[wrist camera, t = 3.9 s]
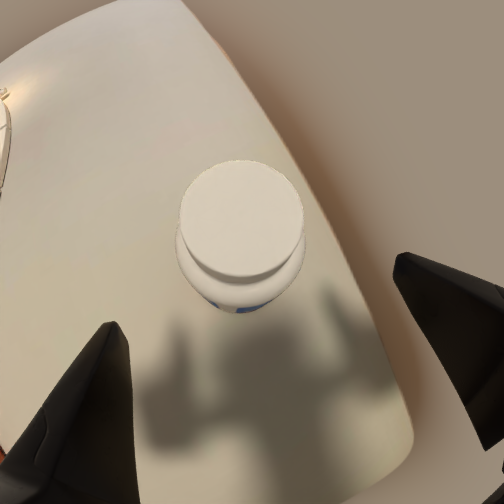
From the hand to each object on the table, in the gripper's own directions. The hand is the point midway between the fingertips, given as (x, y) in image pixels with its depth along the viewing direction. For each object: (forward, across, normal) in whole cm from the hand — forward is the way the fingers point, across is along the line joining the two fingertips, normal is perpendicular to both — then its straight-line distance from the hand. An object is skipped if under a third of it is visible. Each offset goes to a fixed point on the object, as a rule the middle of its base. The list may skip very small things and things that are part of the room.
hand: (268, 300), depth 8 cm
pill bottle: (+9, 0, +5) cm, 10 cm away
